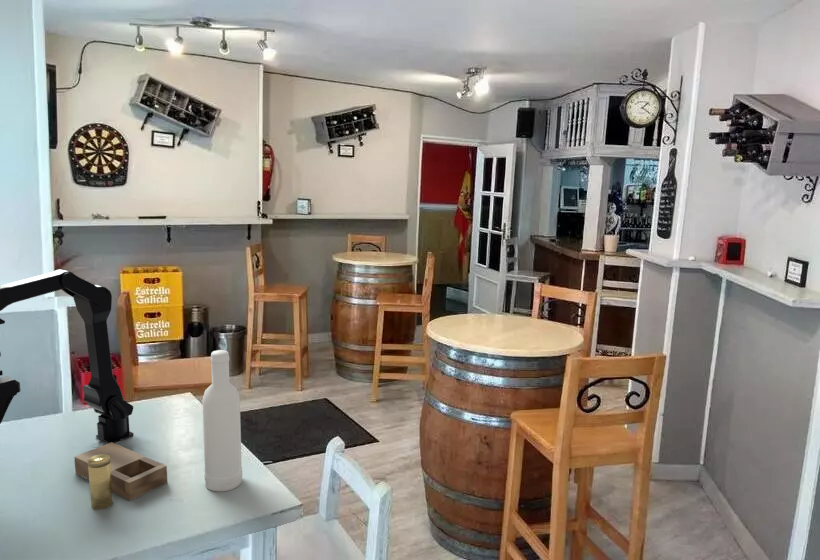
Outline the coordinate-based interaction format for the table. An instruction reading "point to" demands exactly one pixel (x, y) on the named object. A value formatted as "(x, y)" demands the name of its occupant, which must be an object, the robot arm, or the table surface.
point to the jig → (126, 470)
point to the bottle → (221, 428)
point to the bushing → (100, 481)
